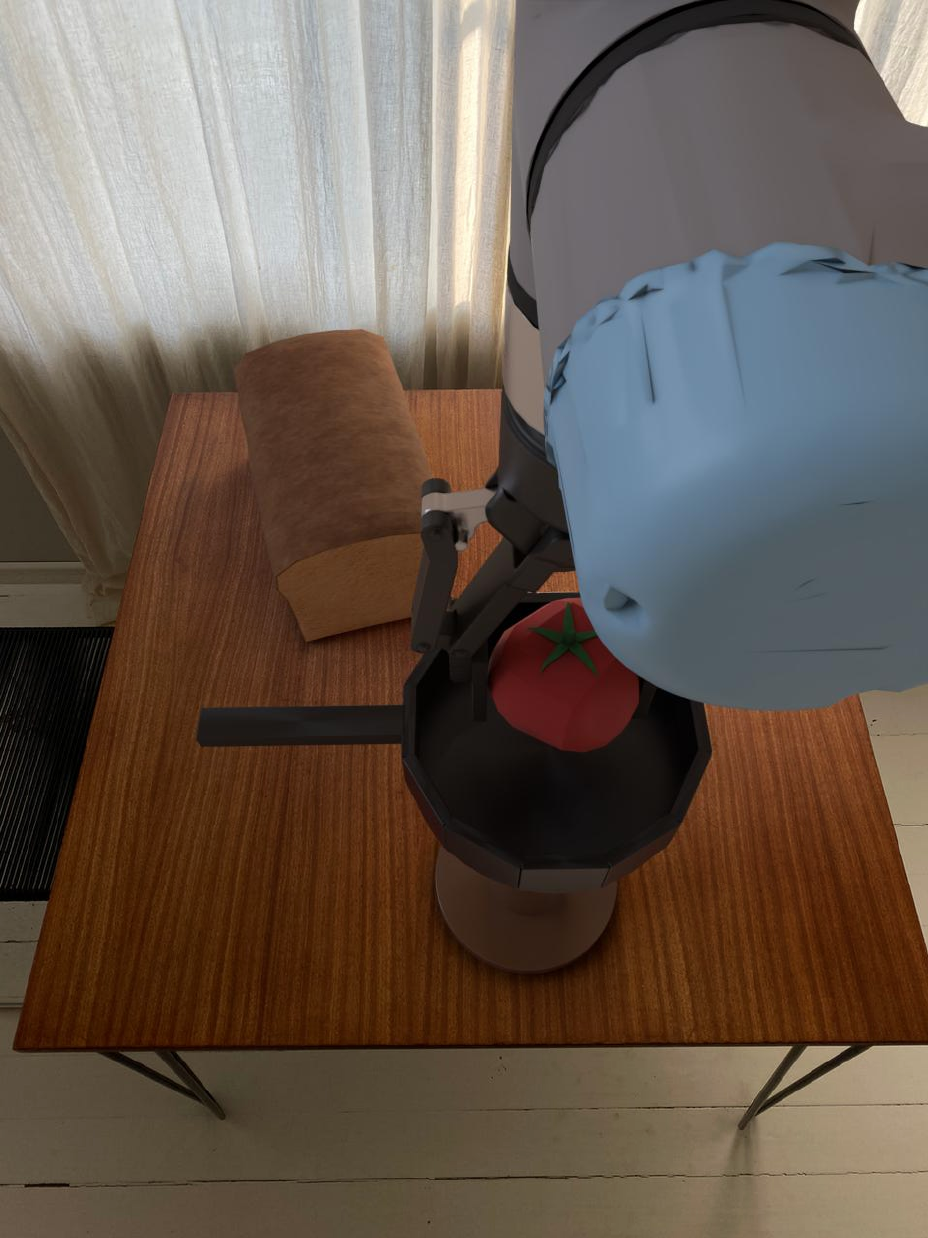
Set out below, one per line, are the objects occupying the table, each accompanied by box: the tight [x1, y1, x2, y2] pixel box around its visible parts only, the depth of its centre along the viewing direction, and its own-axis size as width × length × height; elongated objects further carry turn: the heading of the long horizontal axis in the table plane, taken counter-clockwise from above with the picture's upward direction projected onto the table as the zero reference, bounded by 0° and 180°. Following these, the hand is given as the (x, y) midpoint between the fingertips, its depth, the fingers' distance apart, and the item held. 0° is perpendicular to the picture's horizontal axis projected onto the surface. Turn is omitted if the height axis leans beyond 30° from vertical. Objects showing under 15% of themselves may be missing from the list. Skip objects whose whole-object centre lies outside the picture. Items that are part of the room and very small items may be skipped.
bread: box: [233, 328, 434, 643], centre depth 93 cm, size 18×30×16 cm, turn 15°
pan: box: [195, 591, 713, 975], centre depth 64 cm, size 18×29×33 cm, turn 91°
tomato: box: [487, 598, 639, 752], centre depth 46 cm, size 8×8×7 cm
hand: (557, 698), depth 49 cm, fingers closed on tomato, 8 cm apart
